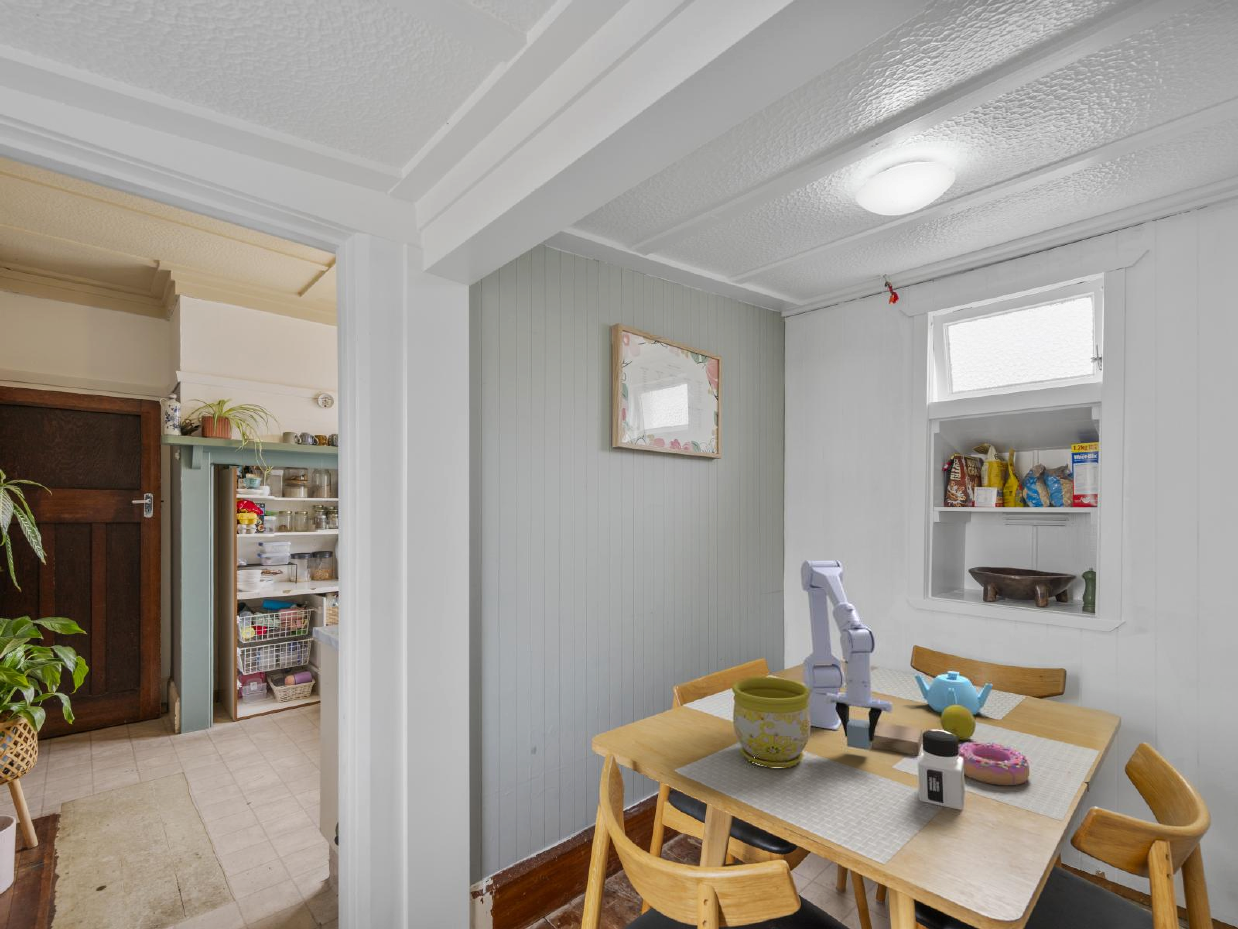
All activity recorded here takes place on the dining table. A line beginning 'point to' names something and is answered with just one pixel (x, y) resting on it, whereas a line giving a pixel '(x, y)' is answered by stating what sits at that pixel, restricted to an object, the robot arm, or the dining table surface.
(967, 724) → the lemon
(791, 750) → the flowerpot
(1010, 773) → the donut
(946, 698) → the teapot
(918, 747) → the walnut block
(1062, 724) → the dining table surface
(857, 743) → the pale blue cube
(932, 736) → the container
